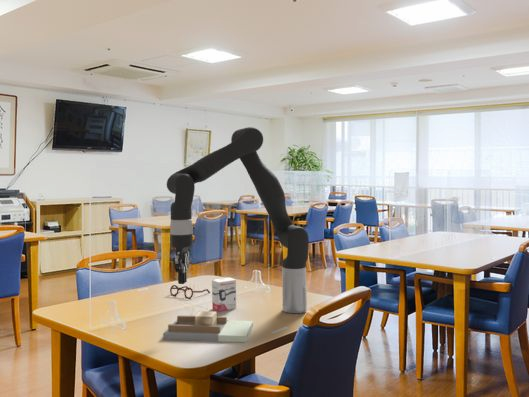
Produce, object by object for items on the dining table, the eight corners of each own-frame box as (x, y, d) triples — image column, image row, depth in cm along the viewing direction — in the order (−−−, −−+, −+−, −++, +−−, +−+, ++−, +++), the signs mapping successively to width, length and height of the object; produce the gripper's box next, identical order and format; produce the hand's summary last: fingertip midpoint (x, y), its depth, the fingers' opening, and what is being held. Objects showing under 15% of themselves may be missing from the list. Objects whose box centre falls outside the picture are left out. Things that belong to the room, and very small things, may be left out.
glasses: (169, 296, 228) (169, 285, 227) (189, 290, 238) (189, 279, 238) (191, 300, 220) (191, 288, 220) (211, 293, 231) (211, 282, 231)
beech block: (216, 324, 178) (216, 311, 177) (212, 329, 172) (212, 316, 171) (199, 324, 178) (199, 311, 178) (195, 329, 173) (195, 316, 172)
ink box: (217, 311, 201) (217, 281, 200) (211, 308, 205) (211, 279, 204) (236, 308, 205) (236, 279, 205) (230, 305, 209) (230, 277, 209)
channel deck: (253, 326, 181) (253, 315, 181) (245, 342, 165) (245, 329, 165) (177, 324, 185) (177, 313, 185) (163, 339, 169) (162, 327, 169)
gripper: (186, 235, 167) (187, 288, 168) (197, 230, 180) (198, 279, 181) (164, 235, 168) (165, 287, 169) (176, 230, 181) (177, 278, 182)
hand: (182, 282), depth 175 cm, fingers closed
